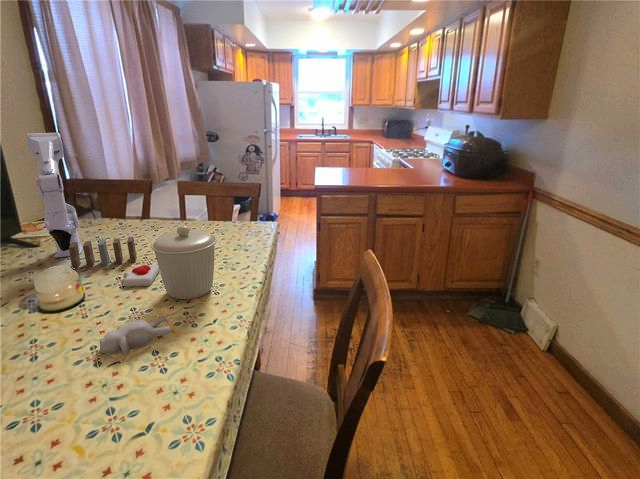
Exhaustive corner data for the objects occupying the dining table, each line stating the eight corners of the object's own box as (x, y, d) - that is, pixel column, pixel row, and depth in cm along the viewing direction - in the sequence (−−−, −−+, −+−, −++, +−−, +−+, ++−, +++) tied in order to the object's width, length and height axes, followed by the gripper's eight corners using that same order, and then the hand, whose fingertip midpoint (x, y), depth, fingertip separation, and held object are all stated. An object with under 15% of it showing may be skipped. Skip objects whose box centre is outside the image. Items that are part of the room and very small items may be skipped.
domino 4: (130, 262, 135) (127, 241, 132) (131, 257, 140) (128, 237, 137) (135, 262, 136) (132, 241, 133) (136, 257, 140) (133, 236, 137)
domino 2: (87, 267, 131) (82, 246, 128) (89, 262, 135) (85, 241, 132) (92, 267, 131) (88, 245, 128) (95, 261, 136) (90, 240, 133)
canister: (231, 283, 121) (227, 220, 114) (197, 311, 105) (189, 240, 98) (184, 274, 127) (177, 214, 119) (144, 300, 111) (133, 231, 103)
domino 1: (72, 269, 129) (68, 247, 126) (75, 263, 133) (72, 242, 131) (77, 269, 130) (74, 247, 127) (80, 263, 134) (77, 242, 131)
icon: (128, 260, 127) (159, 259, 129) (130, 271, 129) (161, 270, 130) (114, 276, 116) (149, 275, 117) (117, 288, 118) (151, 287, 119)
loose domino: (102, 266, 132) (97, 244, 129) (104, 260, 136) (100, 239, 134) (107, 265, 133) (103, 244, 130) (109, 260, 137) (105, 239, 134)
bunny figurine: (97, 328, 90) (162, 306, 97) (103, 345, 92) (167, 322, 99) (98, 349, 83) (169, 324, 89) (105, 367, 85) (174, 341, 91)
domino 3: (116, 264, 134) (112, 243, 131) (118, 259, 138) (114, 238, 135) (121, 263, 134) (117, 242, 131) (123, 258, 139) (119, 238, 136)
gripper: (82, 211, 124) (90, 250, 129) (56, 205, 130) (65, 242, 135) (59, 216, 118) (68, 257, 123) (33, 210, 125) (43, 248, 129)
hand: (65, 249), depth 129 cm, fingers closed
